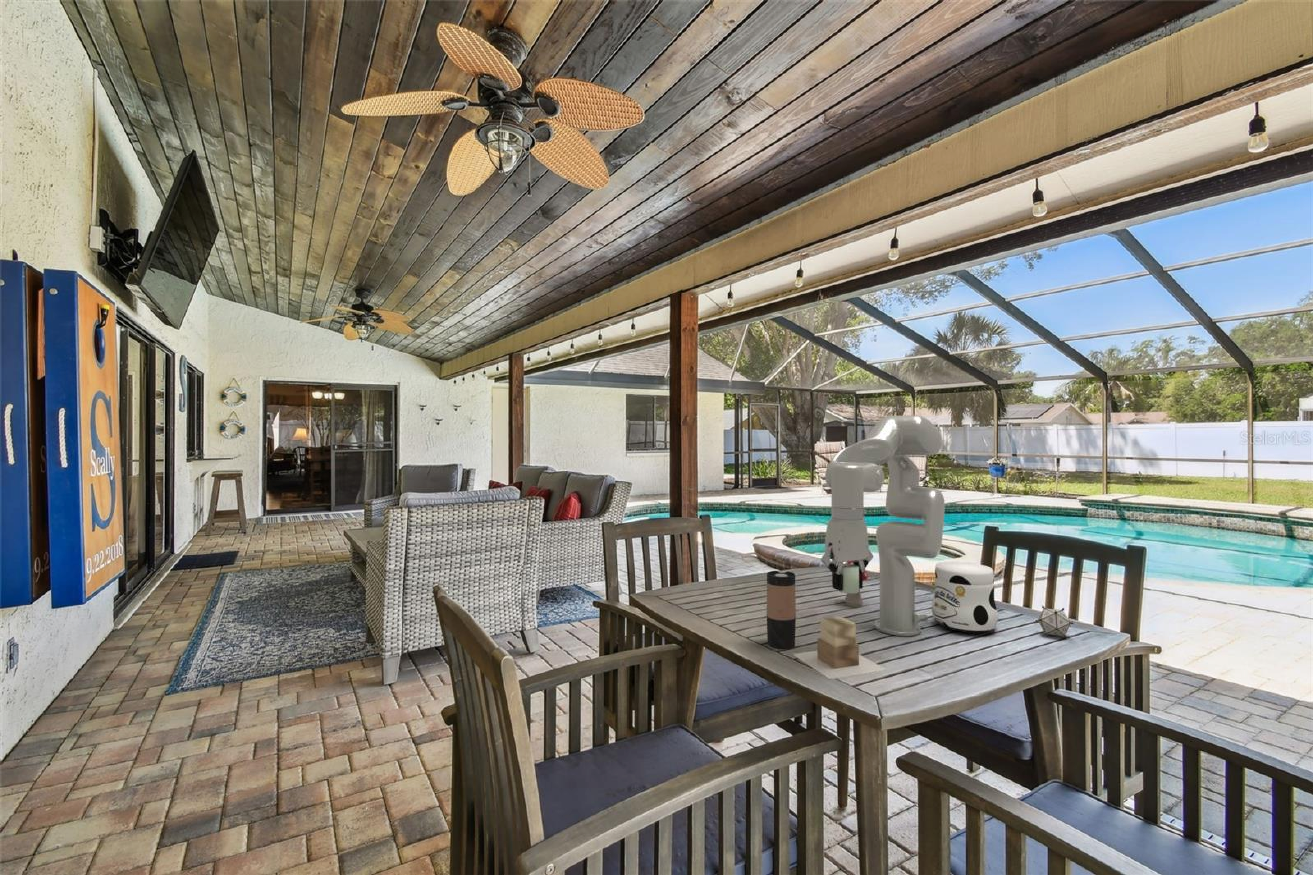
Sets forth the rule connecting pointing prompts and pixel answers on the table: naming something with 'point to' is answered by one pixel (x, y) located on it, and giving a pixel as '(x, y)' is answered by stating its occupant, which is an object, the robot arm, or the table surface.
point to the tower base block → (838, 654)
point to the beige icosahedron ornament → (1054, 622)
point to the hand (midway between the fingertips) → (847, 587)
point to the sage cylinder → (850, 578)
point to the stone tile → (832, 673)
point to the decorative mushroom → (855, 594)
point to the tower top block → (838, 631)
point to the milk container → (964, 597)
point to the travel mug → (781, 610)
